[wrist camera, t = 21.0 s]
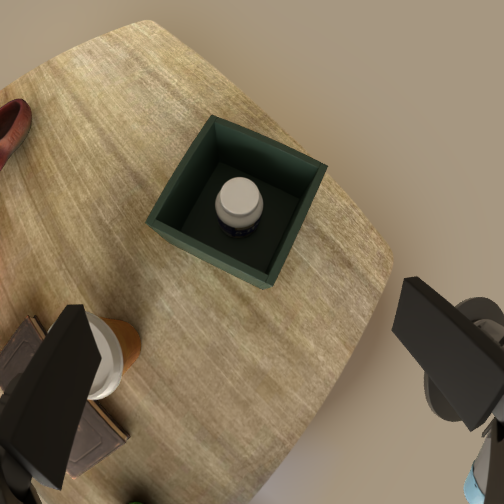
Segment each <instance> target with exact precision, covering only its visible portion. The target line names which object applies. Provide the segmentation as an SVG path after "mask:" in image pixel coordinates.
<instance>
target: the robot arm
mask: <svg viewBox="0 0 504 504" xmlns="http://www.w3.org/2000/svg"><path fill="white" fill-rule="evenodd" d="M392 332H393V333H394V334H395V335H396V336H397V338H398V339H399V340H400V341H401V342H402V344H403V345H404V346H405V347H406V348H407V350H408V351H409V352H410V353H411V355H412V356H413V357H414V358H415V359H416V361H417V362H418V363H419V365H420V366H421V367H422V368H423V370H424V371H425V372H426V373H427V375H428V376H429V377H430V379H431V380H432V381H433V382H434V384H435V385H436V386H437V388H438V389H439V390H440V391H441V393H442V394H443V395H444V397H445V398H446V399H447V401H448V402H449V403H450V405H451V406H452V407H453V409H454V410H455V411H456V413H457V414H458V415H459V417H460V418H461V419H462V421H463V422H464V423H465V425H466V426H467V427H468V429H469V431H470V432H471V431H473V430H474V429H476V428H478V427H479V426H481V425H482V424H483V423H485V421H486V420H487V418H488V417H489V416H490V414H491V413H493V414H494V416H495V417H494V419H493V420H492V421H491V423H490V424H489V425H488V427H487V428H486V429H485V430H484V432H483V433H482V437H484V436H485V435H486V434H487V433H488V434H487V437H486V439H485V441H484V443H483V446H482V448H481V450H480V452H479V454H478V456H477V458H476V460H474V462H473V464H472V467H471V470H470V473H469V475H468V477H467V479H466V481H465V484H464V493H465V497H466V499H467V501H468V502H469V504H504V327H503V326H502V325H500V324H498V323H496V322H495V321H492V320H489V319H477V320H474V321H472V322H471V321H470V320H469V319H468V318H467V317H466V316H465V315H463V314H462V313H461V312H460V311H459V310H458V309H456V308H455V307H454V306H453V305H452V304H451V303H449V302H448V301H447V300H446V299H445V298H443V297H442V296H441V295H440V294H438V293H437V292H436V291H435V290H434V289H432V288H431V287H430V286H429V285H427V284H426V283H425V282H424V281H422V280H421V279H420V278H419V277H409V278H404V281H403V285H402V290H401V295H400V299H399V303H398V308H397V311H396V315H395V320H394V323H393V327H392ZM101 360H102V357H101V354H100V352H99V349H98V346H97V344H96V341H95V338H94V336H93V333H92V330H91V327H90V324H89V321H88V318H87V315H86V312H85V309H84V306H83V304H79V305H67V306H66V307H65V309H64V310H63V311H62V313H61V314H60V316H59V317H58V319H57V320H56V322H55V323H54V324H53V326H52V327H51V329H50V330H49V332H48V333H47V335H46V337H45V338H44V340H43V341H42V343H41V344H40V346H39V347H38V349H37V351H36V352H35V354H34V355H33V357H32V359H31V360H30V362H29V364H28V365H27V367H26V369H25V370H24V372H23V373H18V374H17V375H16V376H15V377H14V378H13V379H12V380H11V381H10V382H9V383H8V385H7V387H6V389H5V390H4V395H3V394H2V396H1V398H0V504H42V502H41V500H40V498H39V496H38V494H37V492H36V489H35V488H34V486H33V485H32V484H31V479H32V477H33V478H35V479H36V480H37V481H38V482H39V483H40V484H42V485H44V486H47V487H50V488H53V489H57V490H60V491H61V489H62V484H63V480H64V476H65V472H66V468H67V464H68V460H69V457H70V453H71V449H72V446H73V442H74V439H75V435H76V432H77V429H78V426H79V422H80V419H81V416H82V413H83V410H84V407H85V404H86V401H87V398H88V395H89V392H90V390H91V387H92V384H93V381H94V378H95V376H96V373H97V370H98V368H99V365H100V363H101Z"/></svg>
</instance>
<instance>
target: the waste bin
mask: <svg viewBox="0 0 504 504" xmlns="http://www.w3.org/2000/svg"><path fill="white" fill-rule="evenodd" d="M327 167H328V166H327V165H325V164H323V163H321V162H319V161H317V160H315V159H313V158H311V157H309V156H307V155H305V154H303V153H301V152H299V151H297V150H295V149H292V148H290V147H288V146H286V145H284V144H282V143H279V142H277V141H275V140H273V139H270V138H268V137H266V136H264V135H261V134H259V133H257V132H254V131H252V130H249V129H247V128H245V127H242V126H240V125H237V124H235V123H232V122H230V121H227V120H225V119H222V118H219V117H217V116H214V115H211V116H210V118H209V119H208V120H207V122H206V123H205V125H204V126H203V128H202V129H201V131H200V132H199V134H198V135H197V137H196V138H195V140H194V141H193V143H192V144H191V146H190V147H189V149H188V151H187V152H186V154H185V155H184V157H183V158H182V160H181V162H180V163H179V165H178V167H177V168H176V170H175V171H174V173H173V175H172V176H171V178H170V180H169V181H168V183H167V185H166V186H165V188H164V190H163V192H162V193H161V195H160V197H159V199H158V200H157V202H156V204H155V206H154V207H153V209H152V211H151V213H150V215H149V216H148V218H147V220H146V222H145V223H146V224H147V225H148V226H149V227H151V228H152V229H153V230H154V231H155V232H157V233H158V234H159V235H160V236H162V237H163V238H164V239H165V240H166V241H168V242H169V243H170V244H172V245H174V246H176V247H178V248H180V249H182V250H184V251H186V252H188V253H190V254H192V255H194V256H196V257H198V258H200V259H202V260H204V261H206V262H208V263H210V264H212V265H214V266H216V267H218V268H220V269H222V270H224V271H226V272H228V273H230V274H232V275H234V276H236V277H238V278H240V279H242V280H244V281H246V282H248V283H250V284H252V285H254V286H256V287H258V288H260V289H262V290H264V289H267V288H270V287H273V285H274V283H275V281H276V279H277V277H278V275H279V273H280V271H281V269H282V266H283V264H284V262H285V260H286V258H287V256H288V254H289V252H290V249H291V247H292V245H293V243H294V241H295V239H296V236H297V234H298V232H299V230H300V228H301V226H302V223H303V221H304V219H305V217H306V215H307V212H308V210H309V208H310V206H311V204H312V201H313V199H314V197H315V195H316V192H317V190H318V188H319V186H320V183H321V181H322V179H323V176H324V174H325V172H326V170H327ZM237 177H243V178H247V179H249V180H251V181H252V182H253V183H254V184H255V185H256V186H257V188H258V190H259V192H260V194H261V196H262V199H263V211H262V214H261V218H260V221H259V224H258V227H257V228H256V230H255V231H254V232H253V233H252V234H251V235H249V236H247V237H244V238H233V237H230V236H228V235H227V234H225V233H224V232H223V231H222V229H221V228H220V226H219V223H218V218H217V214H216V209H215V201H216V197H217V195H218V193H219V192H220V190H221V189H222V187H223V185H224V184H225V183H226V182H227V181H229V180H230V179H233V178H237Z"/></svg>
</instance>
